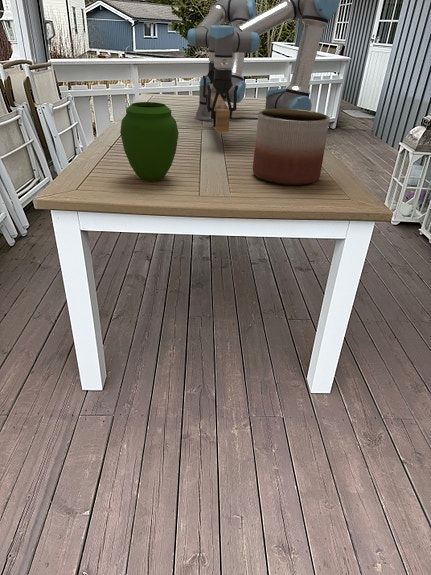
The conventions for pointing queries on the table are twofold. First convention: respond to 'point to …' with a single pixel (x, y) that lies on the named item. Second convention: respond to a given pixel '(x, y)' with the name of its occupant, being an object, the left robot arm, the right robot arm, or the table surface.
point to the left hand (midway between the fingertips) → (214, 111)
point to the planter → (290, 146)
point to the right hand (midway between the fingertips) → (220, 126)
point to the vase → (149, 139)
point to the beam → (220, 114)
